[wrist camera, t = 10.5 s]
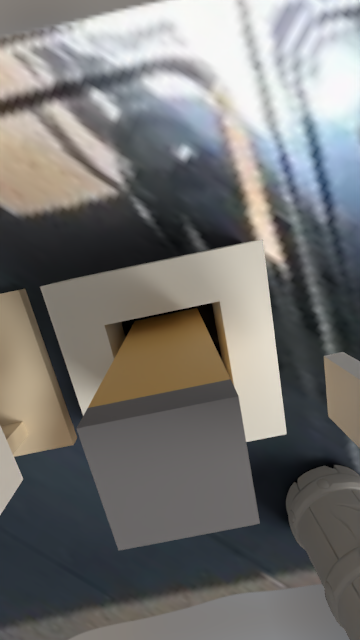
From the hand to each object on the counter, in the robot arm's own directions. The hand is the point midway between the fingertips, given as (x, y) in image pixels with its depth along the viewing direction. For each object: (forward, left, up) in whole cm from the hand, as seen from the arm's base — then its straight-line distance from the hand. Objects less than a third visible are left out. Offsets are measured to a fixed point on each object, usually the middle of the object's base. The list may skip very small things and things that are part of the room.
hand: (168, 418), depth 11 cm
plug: (0, 0, -9) cm, 9 cm away
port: (0, 0, -9) cm, 9 cm away
